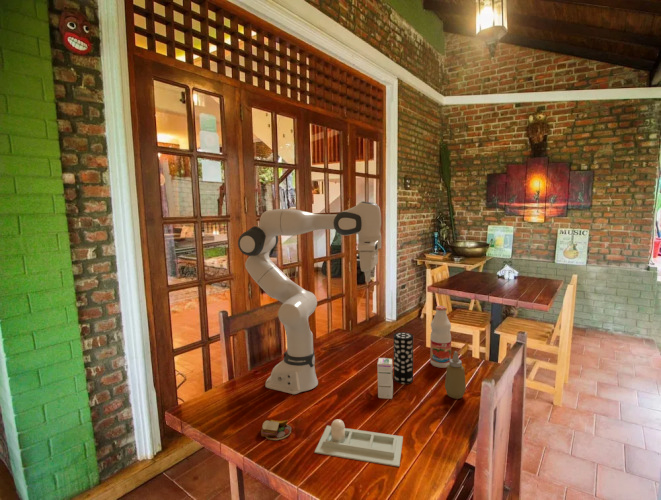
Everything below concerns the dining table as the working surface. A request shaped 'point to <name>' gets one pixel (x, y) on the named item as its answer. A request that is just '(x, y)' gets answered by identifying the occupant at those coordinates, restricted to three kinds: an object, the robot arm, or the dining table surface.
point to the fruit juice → (440, 339)
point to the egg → (338, 431)
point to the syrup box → (385, 378)
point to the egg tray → (363, 446)
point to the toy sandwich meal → (275, 429)
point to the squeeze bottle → (455, 378)
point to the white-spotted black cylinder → (403, 358)
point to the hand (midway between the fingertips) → (370, 279)
